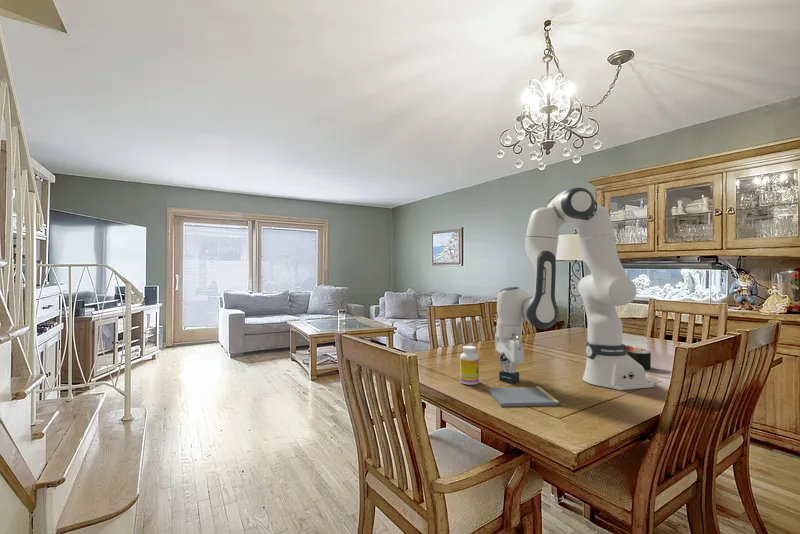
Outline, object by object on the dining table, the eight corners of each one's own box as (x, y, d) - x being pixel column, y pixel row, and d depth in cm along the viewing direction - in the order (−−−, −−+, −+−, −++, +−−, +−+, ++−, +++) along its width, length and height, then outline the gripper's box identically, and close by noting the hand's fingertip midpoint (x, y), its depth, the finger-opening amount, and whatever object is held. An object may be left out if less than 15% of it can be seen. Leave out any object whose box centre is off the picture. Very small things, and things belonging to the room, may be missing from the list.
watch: (496, 381, 136) (495, 350, 136) (508, 377, 141) (508, 347, 141) (509, 384, 131) (509, 353, 132) (522, 380, 137) (521, 349, 137)
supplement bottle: (478, 386, 130) (478, 349, 130) (459, 385, 132) (459, 348, 132) (478, 380, 137) (478, 345, 137) (460, 379, 138) (460, 344, 138)
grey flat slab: (539, 389, 127) (539, 386, 127) (559, 405, 113) (559, 401, 113) (487, 390, 126) (487, 387, 126) (501, 406, 112) (501, 403, 112)
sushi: (622, 366, 155) (622, 347, 155) (635, 364, 159) (635, 345, 159) (641, 371, 148) (642, 351, 148) (654, 369, 152) (655, 349, 151)
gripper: (529, 337, 126) (529, 378, 126) (508, 327, 146) (507, 362, 146) (510, 337, 125) (510, 378, 125) (492, 327, 146) (492, 362, 146)
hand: (509, 369), depth 136 cm, fingers open, 6 cm apart
